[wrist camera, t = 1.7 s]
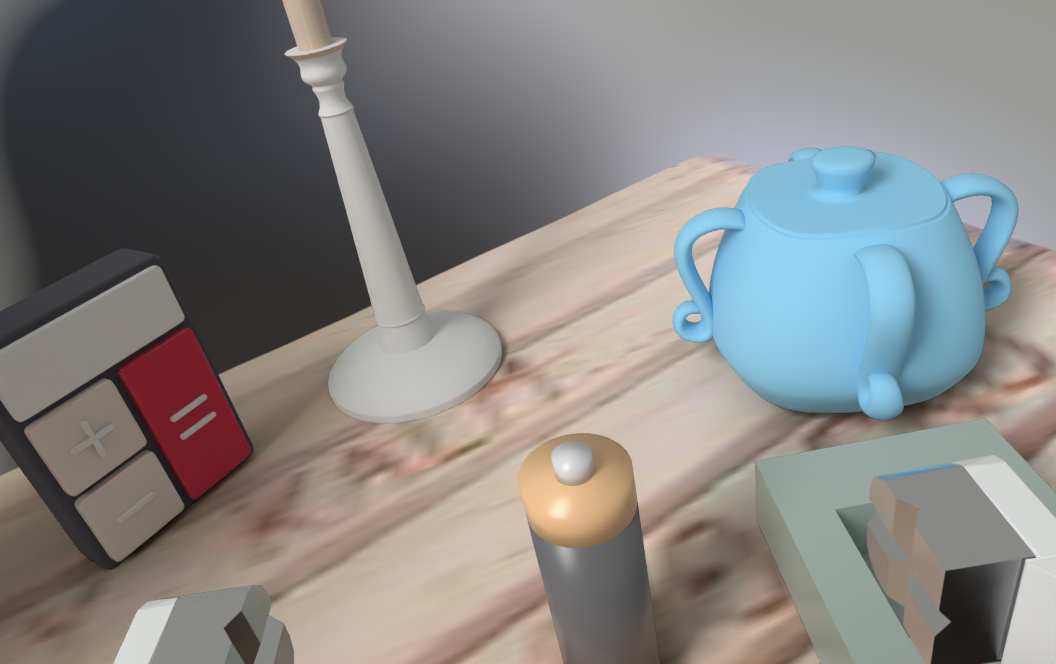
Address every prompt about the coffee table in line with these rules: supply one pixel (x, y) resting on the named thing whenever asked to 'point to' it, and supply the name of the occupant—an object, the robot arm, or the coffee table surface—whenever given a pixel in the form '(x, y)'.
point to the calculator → (114, 403)
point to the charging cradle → (857, 532)
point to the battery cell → (590, 549)
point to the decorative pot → (848, 281)
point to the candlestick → (385, 271)
